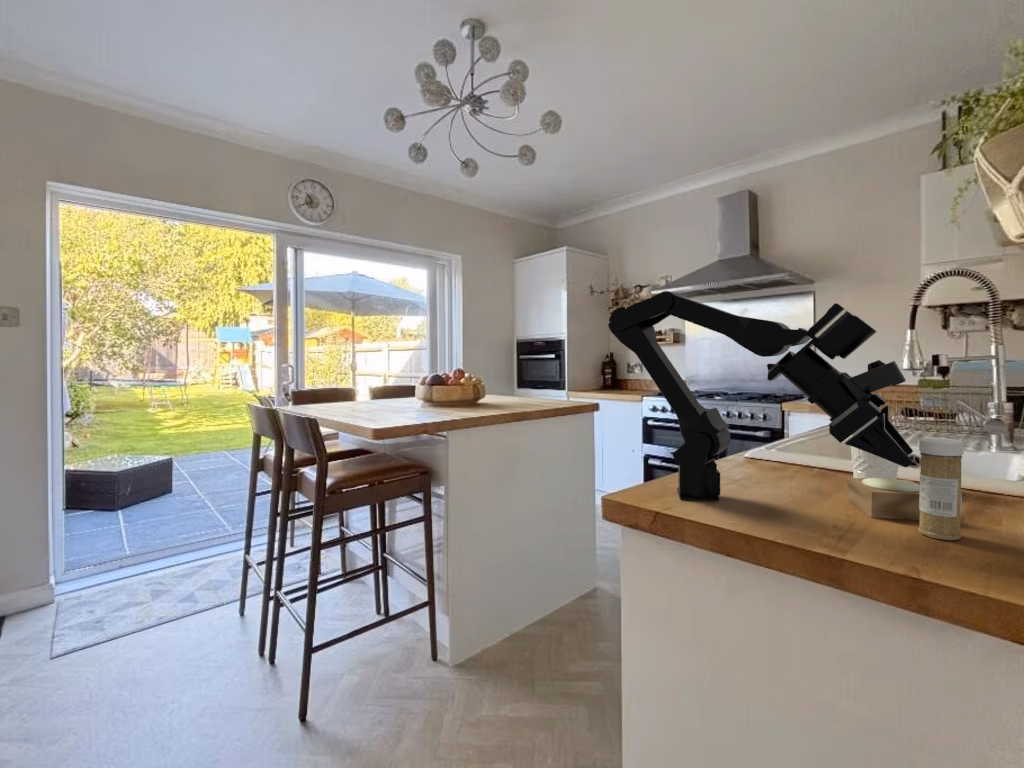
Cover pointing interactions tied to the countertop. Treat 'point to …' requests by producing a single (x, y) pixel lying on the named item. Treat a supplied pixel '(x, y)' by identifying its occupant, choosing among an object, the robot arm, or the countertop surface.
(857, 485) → the riser
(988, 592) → the countertop surface
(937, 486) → the sprinkles bottle
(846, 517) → the countertop surface
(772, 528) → the countertop surface
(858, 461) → the white cup
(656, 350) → the robot arm
